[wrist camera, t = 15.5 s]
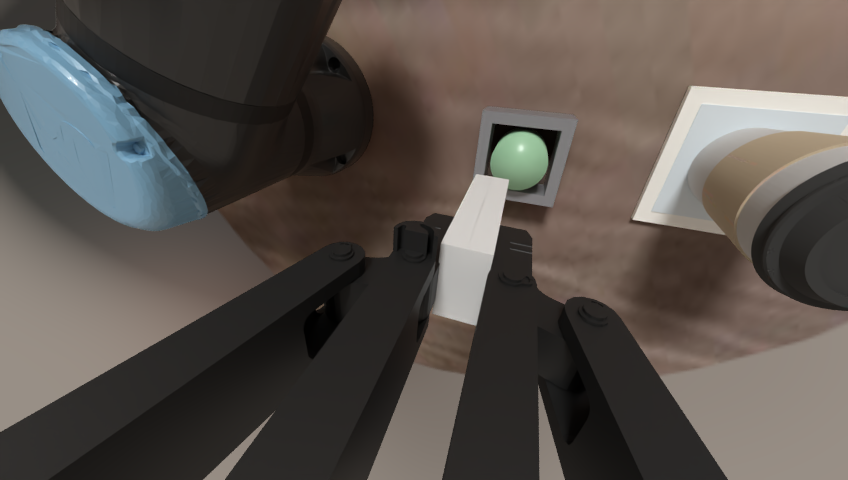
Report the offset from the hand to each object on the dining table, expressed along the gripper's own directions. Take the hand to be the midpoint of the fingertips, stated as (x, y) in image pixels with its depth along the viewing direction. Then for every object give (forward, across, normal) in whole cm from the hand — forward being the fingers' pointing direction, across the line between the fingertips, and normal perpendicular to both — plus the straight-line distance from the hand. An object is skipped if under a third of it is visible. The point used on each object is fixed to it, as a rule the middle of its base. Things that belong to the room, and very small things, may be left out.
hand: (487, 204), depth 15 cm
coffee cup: (+19, +19, -1) cm, 27 cm away
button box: (+20, +1, -2) cm, 20 cm away
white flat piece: (+20, +20, -1) cm, 28 cm away
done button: (+19, +1, -2) cm, 19 cm away
